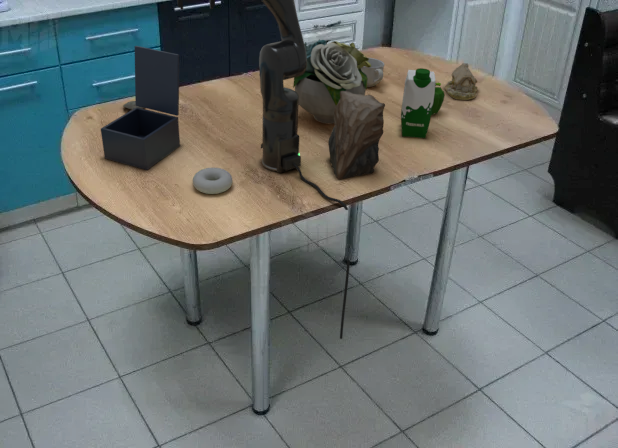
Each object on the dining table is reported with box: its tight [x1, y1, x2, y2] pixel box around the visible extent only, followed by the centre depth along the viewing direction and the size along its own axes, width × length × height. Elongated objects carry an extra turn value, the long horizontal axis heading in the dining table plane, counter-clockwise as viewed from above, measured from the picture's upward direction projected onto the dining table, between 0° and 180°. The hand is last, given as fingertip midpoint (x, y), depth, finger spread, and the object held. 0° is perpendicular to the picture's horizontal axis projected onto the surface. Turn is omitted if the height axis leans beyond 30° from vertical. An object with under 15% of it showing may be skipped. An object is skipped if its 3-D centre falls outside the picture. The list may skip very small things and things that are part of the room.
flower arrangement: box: [292, 39, 371, 125], centre depth 199 cm, size 25×25×24 cm
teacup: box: [361, 57, 385, 88], centre depth 227 cm, size 14×11×8 cm
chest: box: [100, 107, 181, 171], centre depth 181 cm, size 16×14×9 cm
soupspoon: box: [122, 100, 144, 110], centre depth 200 cm, size 22×3×7 cm
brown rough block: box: [327, 91, 386, 181], centre depth 176 cm, size 13×13×20 cm
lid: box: [134, 45, 180, 117], centre depth 180 cm, size 16×14×1 cm
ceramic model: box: [444, 62, 478, 101], centre depth 225 cm, size 14×11×10 cm
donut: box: [192, 167, 233, 195], centre depth 169 cm, size 10×4×10 cm
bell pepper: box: [431, 82, 446, 116], centre depth 210 cm, size 8×8×10 cm
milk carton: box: [400, 67, 437, 139], centre depth 195 cm, size 9×9×20 cm
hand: (196, 8), depth 194 cm, fingers open, 8 cm apart
